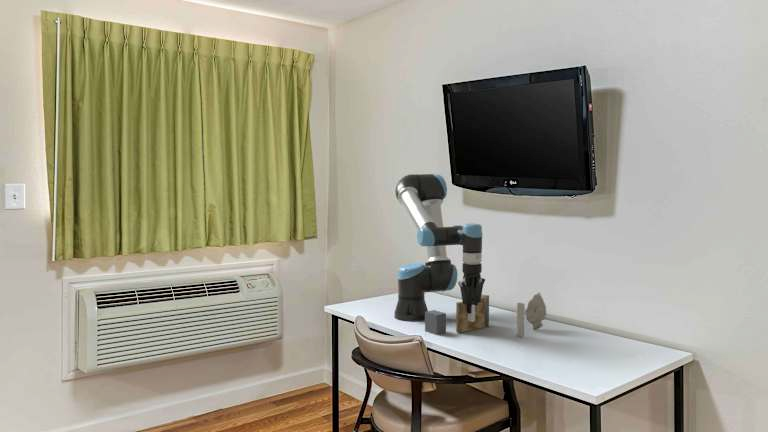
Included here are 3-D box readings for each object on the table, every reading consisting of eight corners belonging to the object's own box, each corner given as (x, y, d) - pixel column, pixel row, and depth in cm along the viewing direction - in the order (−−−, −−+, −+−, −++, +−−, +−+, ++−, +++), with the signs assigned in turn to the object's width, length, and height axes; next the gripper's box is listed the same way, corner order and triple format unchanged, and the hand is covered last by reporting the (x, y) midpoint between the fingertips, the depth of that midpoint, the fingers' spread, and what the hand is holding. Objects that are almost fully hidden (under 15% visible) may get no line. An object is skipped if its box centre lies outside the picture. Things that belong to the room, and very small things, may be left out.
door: (480, 325, 246) (480, 297, 245) (484, 326, 244) (484, 298, 243) (454, 331, 237) (454, 302, 236) (458, 332, 235) (458, 303, 234)
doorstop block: (425, 331, 239) (424, 311, 239) (434, 329, 242) (434, 310, 242) (436, 335, 234) (436, 315, 233) (445, 332, 237) (445, 313, 236)
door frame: (473, 323, 250) (474, 293, 249) (477, 323, 251) (477, 292, 250) (521, 337, 229) (521, 304, 228) (524, 336, 231) (525, 303, 230)
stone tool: (529, 332, 235) (529, 295, 234) (522, 330, 239) (523, 294, 237) (549, 329, 241) (550, 292, 240) (543, 327, 244) (543, 291, 243)
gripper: (466, 265, 228) (466, 325, 230) (490, 262, 236) (489, 320, 238) (453, 263, 234) (452, 321, 236) (476, 259, 242) (476, 316, 244)
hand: (471, 320), depth 237 cm, fingers closed
